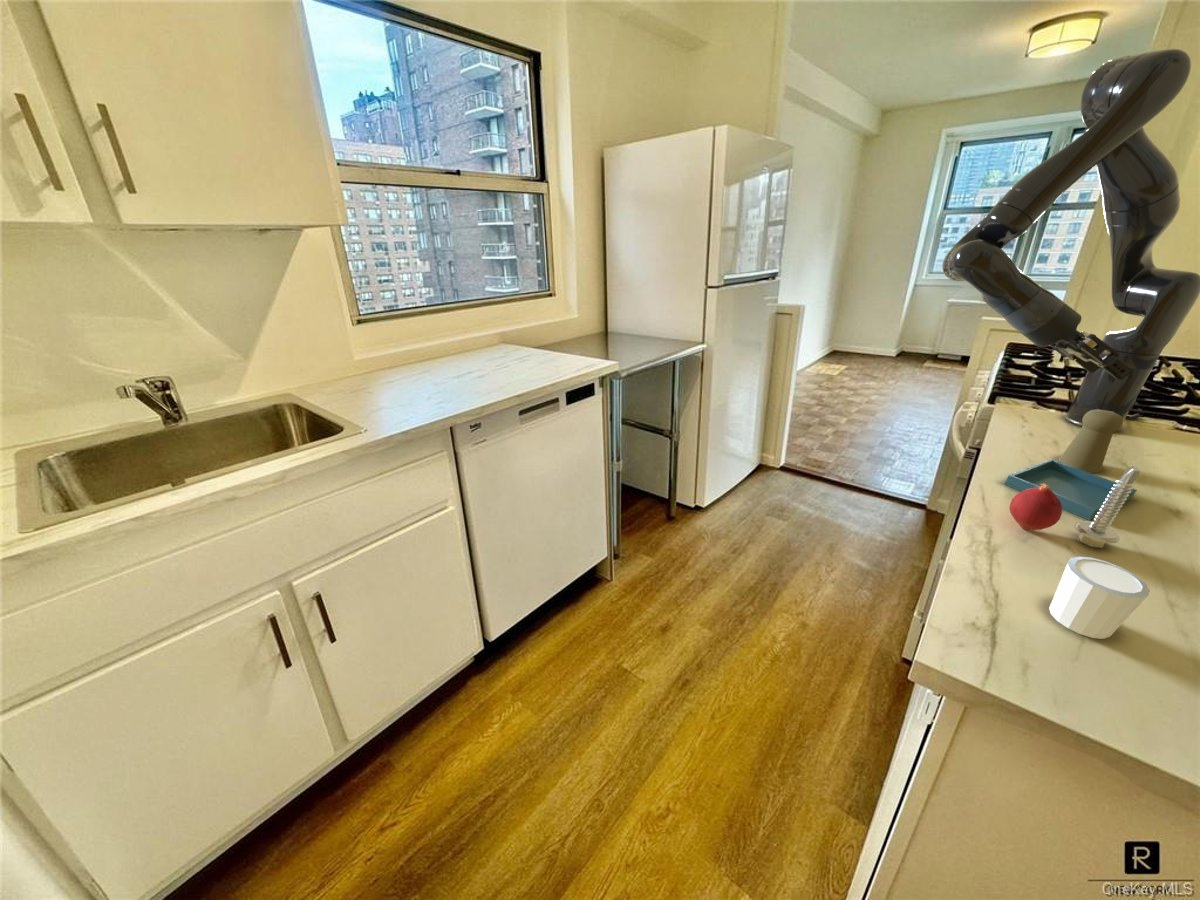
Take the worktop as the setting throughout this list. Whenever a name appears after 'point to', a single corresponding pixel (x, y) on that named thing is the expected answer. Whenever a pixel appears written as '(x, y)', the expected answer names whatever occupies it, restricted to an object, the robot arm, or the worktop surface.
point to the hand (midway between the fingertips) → (1110, 372)
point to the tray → (1067, 486)
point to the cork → (1092, 441)
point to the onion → (1036, 508)
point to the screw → (1107, 513)
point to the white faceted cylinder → (1096, 597)
